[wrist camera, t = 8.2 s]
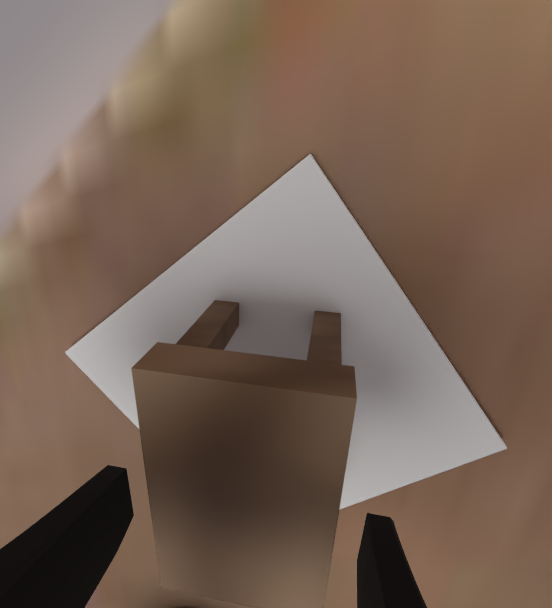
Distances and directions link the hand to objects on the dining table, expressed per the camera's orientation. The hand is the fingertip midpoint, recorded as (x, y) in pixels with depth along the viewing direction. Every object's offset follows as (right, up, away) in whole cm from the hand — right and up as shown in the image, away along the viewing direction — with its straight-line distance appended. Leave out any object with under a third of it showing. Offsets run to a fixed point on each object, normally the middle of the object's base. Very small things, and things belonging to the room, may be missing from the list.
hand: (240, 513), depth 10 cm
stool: (+1, +2, +5) cm, 6 cm away
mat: (+1, +2, +6) cm, 6 cm away
